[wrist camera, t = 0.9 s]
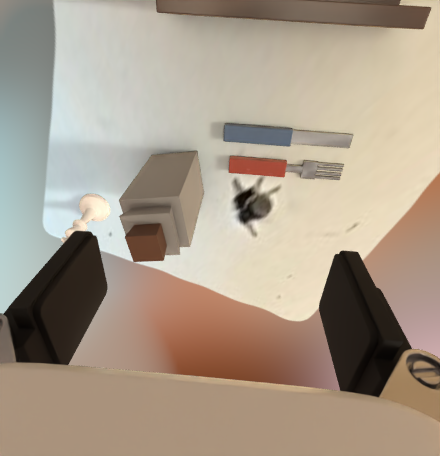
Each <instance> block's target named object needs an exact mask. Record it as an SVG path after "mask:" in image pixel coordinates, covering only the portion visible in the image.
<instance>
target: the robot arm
mask: <svg viewBox="0 0 440 456" xmlns="http://www.w3.org/2000/svg"><path fill="white" fill-rule="evenodd" d="M106 292H107V282H106V277H105V273H104V268H103V263H102V259H101V254H100V250H99V245H98V240H97V237H96V236H93V234H92V233H91V232H89V231H74V232H73V233H72V234H71V235H70V237H69V238H68V239H67V240H66V241H65V242H64V244H63V245H62V246H61V247H60V248H59V250H58V251H57V252H56V253H55V254H54V255H53V256H52V257H51V259H50V260H49V261H48V262H47V263H46V264H45V266H44V267H43V268H42V269H41V270H40V271H39V273H38V274H37V275H36V276H35V277H34V278H33V279H32V281H31V282H30V283H29V284H28V285H27V286H26V287H25V289H24V290H23V291H22V292H21V293H20V295H19V296H18V297H17V298H16V299H15V300H14V301H13V303H12V304H11V305H10V306H9V308H8V309H7V310H6V311H5V313H4V314H1V313H0V456H440V359H439V358H438V357H436V356H435V355H433V354H430V353H429V352H426V351H423V350H419V349H412V348H411V346H410V344H409V342H408V340H407V338H406V336H405V335H404V333H403V331H402V329H401V327H400V325H399V323H398V321H397V319H396V318H395V316H394V314H393V312H392V310H391V308H390V306H389V304H388V303H387V301H386V299H385V297H384V295H383V293H382V291H381V290H380V289H379V288H376V286H375V284H374V282H373V280H372V279H371V277H370V275H369V273H368V271H367V269H366V267H365V265H364V263H363V261H362V259H361V257H360V255H359V253H358V252H353V251H341V252H340V253H339V254H335V256H334V259H333V262H332V265H331V268H330V272H329V275H328V278H327V281H326V284H325V287H324V291H323V294H322V297H321V300H320V304H319V311H320V315H321V319H322V323H323V327H324V330H325V334H326V338H327V342H328V345H329V349H330V353H331V357H332V361H333V365H334V368H335V372H336V376H337V380H338V383H339V387H340V391H337V390H328V389H320V388H311V387H302V386H292V385H282V384H271V383H262V382H251V381H241V380H231V379H220V378H210V377H199V376H188V375H177V374H165V373H155V372H144V371H133V370H132V371H131V370H121V369H110V368H109V369H108V368H96V367H87V366H73V365H68V364H69V362H70V360H71V359H72V357H73V355H74V353H75V351H76V349H77V347H78V346H79V344H80V342H81V340H82V338H83V336H84V334H85V332H86V331H87V329H88V327H89V325H90V323H91V321H92V319H93V317H94V315H95V314H96V312H97V310H98V308H99V306H100V304H101V302H102V301H103V299H104V297H105V295H106Z"/></svg>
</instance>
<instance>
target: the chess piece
mask: <svg viewBox="0 0 440 456" xmlns="http://www.w3.org/2000/svg"><path fill="white" fill-rule="evenodd" d="M79 207H80V210H81V212H82V214H83V216H82V218H81V219H80V220H75V221H74V222H73V227H72V228H69V229H67V230H66V232H65V234H66V237H67V238H65V237H63V238H62V239H61V240H62V242H63V243H64V242H65V241H66V240H67V239H68V238H69V237H70V235H71V234H72V233H73V232H74V231H86V230H87V225H86V224H87V223H88V222H89V221H90V220H93V221H102V220H104V219H106V218H107V217H108V216H109V214H110V206H109V204H108V202H107V201H106V200H105V199H104V198H102V197H101V196H99V195H96V194H87V195H85V196H83V197H82V199H81V200H80V203H79Z"/></svg>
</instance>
